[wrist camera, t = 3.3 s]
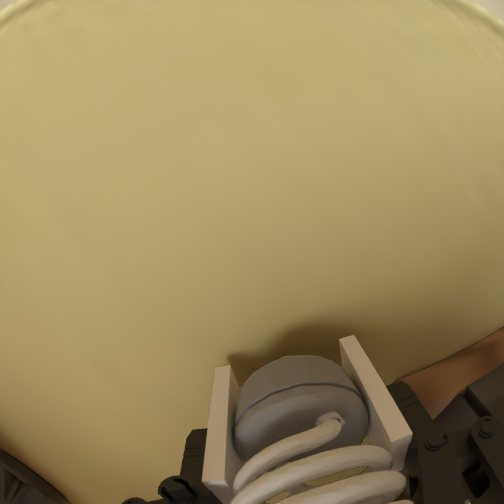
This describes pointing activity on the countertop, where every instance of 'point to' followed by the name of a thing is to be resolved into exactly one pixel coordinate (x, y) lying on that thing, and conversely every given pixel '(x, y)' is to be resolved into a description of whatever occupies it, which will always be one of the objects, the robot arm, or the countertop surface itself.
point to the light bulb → (308, 437)
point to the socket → (463, 387)
